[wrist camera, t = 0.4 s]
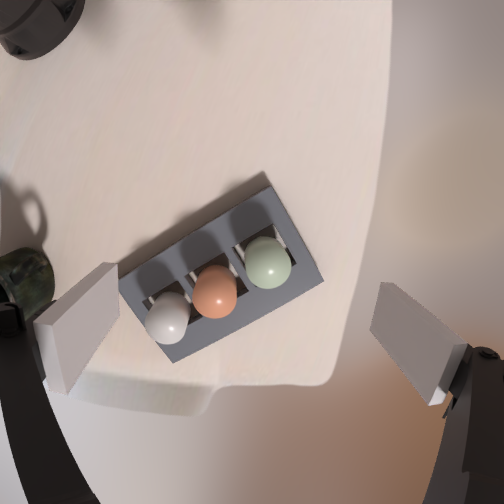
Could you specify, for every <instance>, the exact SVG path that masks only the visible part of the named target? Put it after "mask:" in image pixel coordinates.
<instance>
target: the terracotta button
mask: <svg viewBox="0 0 504 504" xmlns="http://www.w3.org/2000/svg"><path fill="white" fill-rule="evenodd" d="M192 300H193V304H194V306H195V308H196V310H197V311H198V312H199V313H200V314H202V315H203V316H205V317H208V318H214V319H217V318H222V317H225V316H227V315H228V314H230V313H231V312H232V310H233V309H234V307H235V305H236V301H237V290H236V278H235V276H234V274H233V273H232V272H231V270H229V269H228V268H226V267H224V266H222V265H211V266H208V267H206V268H205V269H203V270H202V271H201V272H200V274H199V276H198V278H197V281H196V284H195V287H194V290H193V294H192Z"/></svg>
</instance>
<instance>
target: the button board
mask: <svg viewBox="0 0 504 504" xmlns="http://www.w3.org/2000/svg"><path fill="white" fill-rule="evenodd" d="M271 224H274V225H275V227H276V229H277V231H278V232H279V234H280V236H281V238H282V239H283V241H284V243H285V244H286V246H287V248H288V250H289V251H290V253H291V255H292V257H293V258H294V260H293V261H291V272H290V275H289V277H288V278H287V280H286V281H285V282H284V283H283V284H282V285H280V286H278V287H276V288H272V289H264V288H260V287H258V286H256V285H254V284H253V283H252V282H251V281H250V279H249V278H248V276H247V273H246V267H245V266H244V264H243V262H242V261H241V259H240V258H239V256H238V254H237V253H236V251H235V250H234V248H233V247H234V246H235V245H237V244H239V243H240V242H242V241H244V240H245V239H247V238H249V237H251V236H252V235H254V234H256V233H257V232H259V231H261V230H262V229H264V228H266V227H268V226H269V225H271ZM223 252H224V253H225V254H226V256H227V257H228V259H229V260H230V262H231V264H232V265H233V267H234V268H235V270H236V271H237V273H238V275H239V276H240V278H241V279H242V281H243V282H244V284H245V286H246V288H244V289H242V290H241V291H239V292H237V301H236V305H235V307H234V309H233V310H232V312H231V313H230V314H228V315H227V316H225V317H222V318H217V319H214V318H208V317H205V316H203V315H202V314H198V315H196V316H194V317H192V318H191V319H189V321H188V324H187V327H186V331H185V334H184V336H183V338H182V339H181V340H180V341H178V342H177V343H174V344H161V343H158V342H156V343H157V344H158V345H159V347H160V348H161V349H162V350H163V352H164V353H165V354H166V355H167V357H168V358H169V359H170V360H171V362H172V363H175V362H177V361H179V360H181V359H183V358H185V357H187V356H189V355H191V354H193V353H195V352H197V351H199V350H201V349H203V348H205V347H206V346H208V345H210V344H212V343H214V342H216V341H218V340H220V339H222V338H224V337H226V336H227V335H229V334H231V333H233V332H235V331H237V330H239V329H241V328H242V327H244V326H246V325H248V324H250V323H252V322H253V321H255V320H257V319H259V318H261V317H263V316H264V315H266V314H268V313H270V312H272V311H273V310H275V309H277V308H279V307H280V306H282V305H284V304H286V303H287V302H289V301H291V300H293V299H294V298H296V297H298V296H300V295H301V294H303V293H305V292H307V291H308V290H310V289H312V288H313V287H315V286H317V285H318V284H320V283H322V282H324V280H323V278H322V276H321V274H320V272H319V270H318V268H317V267H316V265H315V263H314V261H313V259H312V257H311V256H310V254H309V252H308V250H307V248H306V247H305V245H304V243H303V241H302V239H301V237H300V236H299V234H298V232H297V230H296V229H295V227H294V225H293V223H292V221H291V220H290V218H289V216H288V214H287V213H286V211H285V209H284V207H283V206H282V204H281V202H280V200H279V199H278V197H277V195H276V193H275V192H274V190H273V188H272V187H271V186H268V187H266V188H265V189H263V190H261V191H260V192H258V193H256V194H254V195H253V196H251V197H249V198H248V199H246V200H244V201H243V202H241V203H239V204H238V205H236V206H234V207H232V208H231V209H229V210H227V211H226V212H224V213H222V214H221V215H219V216H218V217H216V218H214V219H213V220H211V221H209V222H208V223H206V224H204V225H203V226H201V227H200V228H198V229H196V230H195V231H193V232H191V233H190V234H188V235H187V236H185V237H183V238H182V239H180V240H179V241H177V242H175V243H174V244H172V245H171V246H169V247H167V248H166V249H164V250H163V251H161V252H160V253H158V254H157V255H155V256H153V257H152V258H150V259H149V260H147V261H146V262H144V263H143V264H141V265H139V266H138V267H136V268H135V269H133V270H132V271H130V272H129V273H127V274H126V275H124V276H123V277H121V278H120V279H118V290H119V292H120V294H121V295H122V297H123V298H124V300H125V301H126V302H127V304H128V305H129V307H130V308H131V309H132V311H133V312H134V314H135V315H136V316H137V318H138V319H139V320H140V322H141V323H142V324H143V326H144V327H145V318H146V316H147V314H148V312H149V311H150V309H151V307H152V305H151V303H150V302H149V301H148V299H147V298H148V297H150V296H152V295H153V294H155V293H157V292H158V291H160V290H162V289H163V288H165V287H167V286H168V285H170V284H172V283H173V282H175V281H177V280H178V281H179V283H180V284H181V286H182V287H183V289H184V290H185V291H186V293H187V294H188V296H189V297H190V299H191V300H192V294H193V290H194V287H195V284H194V282H193V281H192V279H191V278H190V276H189V275H188V273H190V272H192V271H193V270H195V269H197V268H198V267H200V266H202V265H203V264H205V263H207V262H208V261H210V260H212V259H213V258H215V257H217V256H218V255H220V254H222V253H223ZM192 302H193V300H192Z"/></svg>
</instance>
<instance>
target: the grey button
mask: <svg viewBox="0 0 504 504" xmlns="http://www.w3.org/2000/svg"><path fill="white" fill-rule="evenodd" d="M190 313H191V308H190V304H189V302H188V301H187V299H186V298H185V297H184V296H182V295H181V294H179V293H176V292H165V293H163V294H161V295H159V296H158V297H157V299H156V300H155V302H154V304H153V305H152V307H151V309H150V311H149V312H148V314H147V316H146V318H145V329H146V331H147V333H148V335H149V336H150V337H151V338H152V339H153V340H155V341H156V342H158V343H161V344H174V343H177V342H178V341H180V340H181V339H182V338H183V336H184V334H185V331H186V327H187V324H188V321H189V317H190Z"/></svg>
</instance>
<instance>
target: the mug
mask: <svg viewBox="0 0 504 504" xmlns="http://www.w3.org/2000/svg"><path fill="white" fill-rule="evenodd" d="M54 290H55V281H54V275H53V272H52V269H51V267H50V265H49V263H48V261H47V259H46V257H45V256H44V255H43V254H42V253H39V252H37V251H36V250H34V249H31V248H20V249H17V250H15V251H13V252H10V253H8V254H6V255H4V256H1V257H0V303H4V302H14V303H18V304H20V305H21V306H22V307H23V313H24V318H25V321H26V320H27V319H28V318H30V317H31V316H32V315H34V313H35V312H37V311H39V309H40V308H41V307H42V306H44V305H45V304H46V303H49V302H51V300H52V298H53V295H54Z"/></svg>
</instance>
